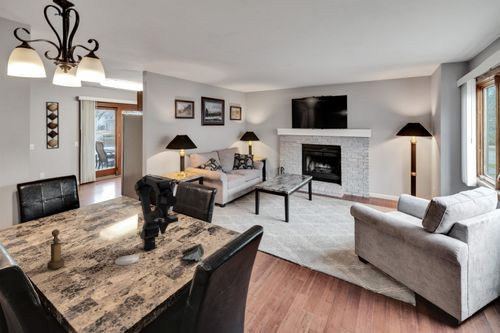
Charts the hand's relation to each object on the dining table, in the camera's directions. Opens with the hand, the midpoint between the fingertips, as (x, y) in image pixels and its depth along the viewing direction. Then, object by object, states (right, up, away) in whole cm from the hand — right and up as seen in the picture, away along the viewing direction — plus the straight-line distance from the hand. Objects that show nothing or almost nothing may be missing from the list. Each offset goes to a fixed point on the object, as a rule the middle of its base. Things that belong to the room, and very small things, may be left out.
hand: (162, 234), depth 130 cm
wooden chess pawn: (-49, -14, -9) cm, 52 cm away
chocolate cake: (+12, -15, 0) cm, 19 cm away
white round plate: (-17, -13, -3) cm, 22 cm away
